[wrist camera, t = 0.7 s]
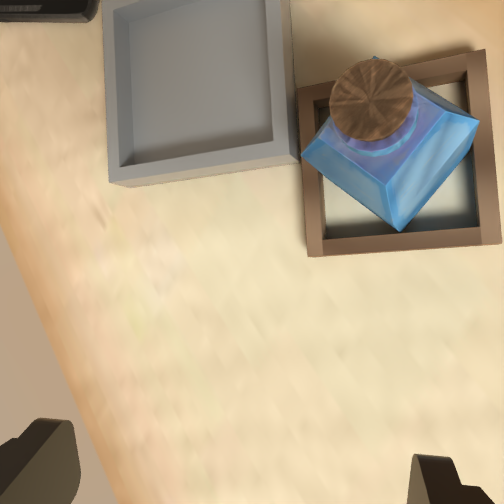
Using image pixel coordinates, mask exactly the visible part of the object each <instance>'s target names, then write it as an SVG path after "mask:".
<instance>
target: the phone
mask: <svg viewBox="0 0 504 504" xmlns="http://www.w3.org/2000/svg"><path fill="white" fill-rule="evenodd" d="M98 5H99V0H97V1H96V0H0V22H53V23H87V22H89V21H91V20H92V19H93V18H94V17H95V15H96V13H97V10H98Z"/></svg>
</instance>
